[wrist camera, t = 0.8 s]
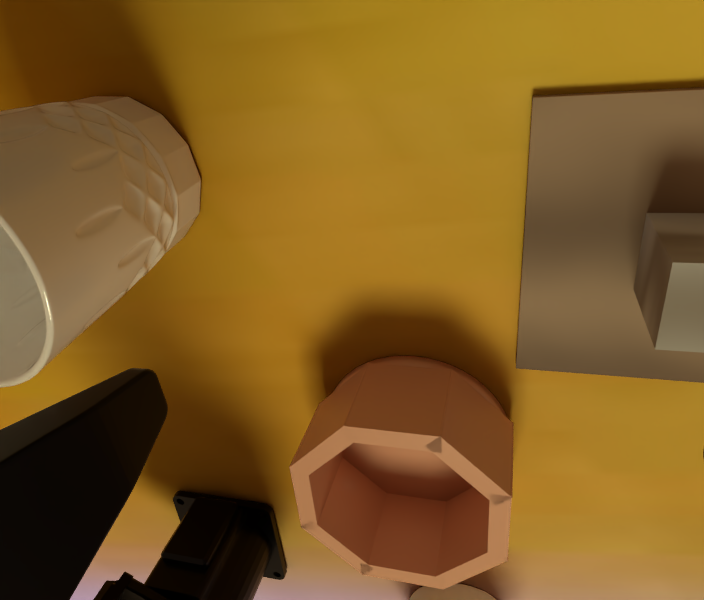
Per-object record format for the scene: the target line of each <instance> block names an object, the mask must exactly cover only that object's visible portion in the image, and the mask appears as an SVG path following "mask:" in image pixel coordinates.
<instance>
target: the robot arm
mask: <svg viewBox="0 0 704 600" xmlns="http://www.w3.org/2000/svg"><path fill="white" fill-rule="evenodd" d="M167 409H168V408H167V402H166V399H165V396H164V394H163V391H162V388H161V385H160V383H159V380H158V377H157V375H156V373H155V372H154V371H153V370H150V369H141V368H132V369H128V370H126V371H124V372H122V373H120V374H118V375H115V376H113V377H111V378H109V379H107V380H105V381H103V382H101V383H99V384H96V385H94V386H92V387H90V388H88V389H86V390H84V391H82V392H80V393H77V394H75V395H73V396H71V397H69V398H67V399H65V400H63V401H60V402H58V403H56V404H54V405H52V406H50V407H48V408H46V409H44V410H41V411H39V412H37V413H35V414H33V415H31V416H29V417H27V418H25V419H22V420H20V421H18V422H16V423H14V424H12V425H10V426H8V427H6V428H3V429H1V430H0V600H70V598H71V596H72V595H73V593H74V591H75V589H76V588H77V586H78V584H79V582H80V581H81V579H82V577H83V576H84V574H85V572H86V570H87V569H88V567H89V565H90V563H91V562H92V560H93V558H94V557H95V555H96V553H97V551H98V550H99V548H100V546H101V544H102V543H103V541H104V539H105V537H106V536H107V534H108V532H109V531H110V529H111V527H112V525H113V524H114V522H115V520H116V518H117V517H118V515H119V513H120V512H121V510H122V508H123V506H124V505H125V503H126V501H127V499H128V497H129V496H130V494H131V492H132V490H133V488H134V486H135V484H136V482H137V480H138V478H139V476H140V474H141V471H142V469H143V467H144V465H145V463H146V460H147V458H148V456H149V454H150V452H151V449H152V447H153V445H154V443H155V441H156V439H157V436H158V434H159V432H160V430H161V428H162V425H163V423H164V421H165V419H166V416H167ZM703 457H704V451H703ZM173 502H174V504H175V507H176V510H177V513H178V516H179V519H180V524H179V526H178V527H177V529H176V530H175V532H174V534H173V535H172V537H171V538H170V540H169V542H168V543H167V545H166V546H165V548H164V550H163V551H162V553H161V558H160V559H159V561H158V562H157V564H156V566H155V567H154V569H153V570H152V572H151V574H150V575H149V577H148V578H147V580H146V582H145V583H144V584H143V583H141V582H139V581H137V580H136V579H134V578H133V576H132V575H131V574H129V573H127V572H124V573H123V575H122V576H121V577H120V579H119V580H117V581H106V582H105V584H104V585H103V586H102V588H101V589H100V591H99V592H98V594H97V595H96V597H95V598H94V600H253V598H254V596H255V593H256V591H257V589H258V586H259V584H260V582H261V580H262V577H268V578H273V579H278V580H282V579H284V577H285V575H286V572H287V570H286V566H285V561H284V557H283V552H282V548H281V544H280V539H279V535H278V530H277V526H276V522H275V517H274V513H273V510H272V508H271V507H270V506H268V505H266V504H262V503H256V502H250V501H243V500H237V499H230V498H224V497H218V496H211V495H205V494H198V493H192V492H185V491H178V492H177V493H176V494H175V496H174V497H173Z"/></svg>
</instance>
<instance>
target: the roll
mask: <svg viewBox="0 0 704 600" xmlns="http://www.w3.org/2000/svg"><path fill="white" fill-rule="evenodd" d="M410 600H496V599H495V598H494V597H493V596H491V595H490V594H488V593H487V592H485V591H483V590H480V589H477V588H475V587H472V586H467V585H463V584H455V585H452V586H450V587H448V588H445V589H438V588H433V587H427V586H423V587H420V588H419V589H417V590H416V591H415V592H414V593H413V594H412V596H411V597H410Z"/></svg>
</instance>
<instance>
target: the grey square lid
mask: <svg viewBox="0 0 704 600" xmlns="http://www.w3.org/2000/svg"><path fill="white" fill-rule="evenodd" d="M516 368H519V369H532V370H545V371H558V372H571V373H584V374H597V375H610V376H624V377H637V378H650V379H663V380H676V381H689V382H702V383H704V87H698V88H677V89H657V90H636V91H616V92H595V93H575V94H555V95H534V96H533V99H532V116H531V132H530V148H529V164H528V180H527V196H526V212H525V228H524V244H523V260H522V276H521V292H520V308H519V325H518V341H517V357H516Z"/></svg>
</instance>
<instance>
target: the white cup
mask: <svg viewBox="0 0 704 600" xmlns="http://www.w3.org/2000/svg"><path fill="white" fill-rule="evenodd" d="M200 192H201V178H200V176H199V173H198V170H197V168H196V165H195V162H194V160H193V157H192V154H191V152H190V149H189V146H188V144H187V143H186V142H185V141H184V139H183V138H182V137H181V136H180V135H179V134H178V132H177V131H176V130H175V129H174V128H173V127H172V125H171V124H170V123H169V122H168V121H167V120H166V118H165V117H164V116H163V115H162V114H160V113H158V112H157V111H155V110H153V109H151V108H149V107H147V106H145V105H143V104H142V103H140V102H138V101H136V100H134V99H132V98H130V97H119V96H93V97H88V98H84V99H79V100H74V101H70V102H65V101H64V102H53V103H46V104H40V105H34V106H30V107H23V108H15V109H9V110H3V111H0V387H9V386H14V385H18V384H21V383H23V382H25V381H27V380H29V379H31V378H32V377H34V376H35V375H36V374H37V373H39V372H40V371H41V370H42V369H43V368H44V367H45V366H46V365H47V364H48V363H49V362H51V361H52V360H53V359H54V358H55V357H56V356H57V355H58V354H59V353H60V352H62V351H63V350H64V349H65V348H66V347H67V346H68V345H69V344H70V343H71V342H73V341H74V340H75V339H76V338H77V337H78V336H79V335H80V334H81V333H83V332H84V331H85V330H86V329H87V328H88V327H89V326H90V325H91V324H93V323H94V322H95V321H96V320H97V319H98V318H99V317H100V316H102V315H103V314H104V313H105V312H106V311H107V310H108V309H109V308H111V307H112V306H113V305H114V304H115V303H116V302H117V301H118V300H119V299H121V298H122V297H123V296H124V295H125V294H126V293H127V292H128V291H129V290H130V289H131V288H132V287H133V286H134V285H135V284H136V283H137V281H138V280H140V279H141V278H142V277H143V276H144V275H146V274H147V273H148V272H149V271H150V270H151V269H152V268H153V267H154V266H155V265H156V264H157V262H158V261H159V260H160V259H161V258H162V257H163V255H164V254H165V253H166V252H168V251H169V250H170V249H171V248H172V247H173V246H174V245H176V244H177V243H178V242H179V241H180V240H181V239H182V238H184V236H185V235H186V233H187V232H188V230H189V229H190V227H191V225H192V224H193V222H194V221H195V219H196V217H197V216H198V214H199V212H200Z"/></svg>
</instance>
